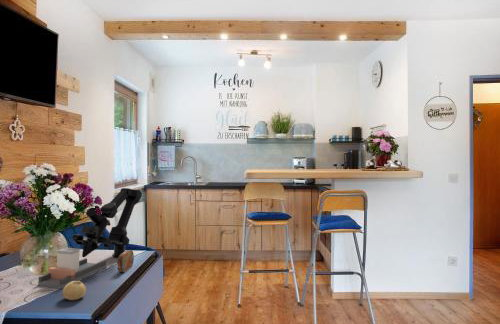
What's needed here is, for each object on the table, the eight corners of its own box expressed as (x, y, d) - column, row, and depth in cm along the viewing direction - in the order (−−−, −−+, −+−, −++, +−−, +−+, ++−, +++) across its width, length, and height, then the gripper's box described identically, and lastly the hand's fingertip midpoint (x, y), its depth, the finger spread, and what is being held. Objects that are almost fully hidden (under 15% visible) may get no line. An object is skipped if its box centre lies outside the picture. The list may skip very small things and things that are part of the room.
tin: (122, 274, 160) (123, 256, 160) (115, 274, 160) (116, 256, 160) (134, 264, 175) (134, 247, 175) (128, 264, 175) (128, 247, 175)
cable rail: (84, 265, 172) (84, 254, 172) (105, 267, 169) (106, 256, 169) (38, 285, 145) (38, 272, 145) (62, 288, 142) (62, 275, 142)
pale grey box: (65, 271, 156) (65, 247, 156) (79, 273, 155) (79, 248, 155) (56, 275, 151) (57, 250, 151) (70, 277, 150) (71, 251, 150)
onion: (64, 304, 127) (64, 285, 127) (60, 297, 134) (61, 278, 134) (87, 299, 132) (88, 281, 132) (83, 292, 138) (83, 275, 138)
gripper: (74, 217, 169) (56, 246, 159) (108, 220, 165) (92, 249, 154) (85, 230, 177) (69, 258, 167) (118, 233, 173) (103, 261, 162)
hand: (83, 256), depth 162 cm, fingers closed
